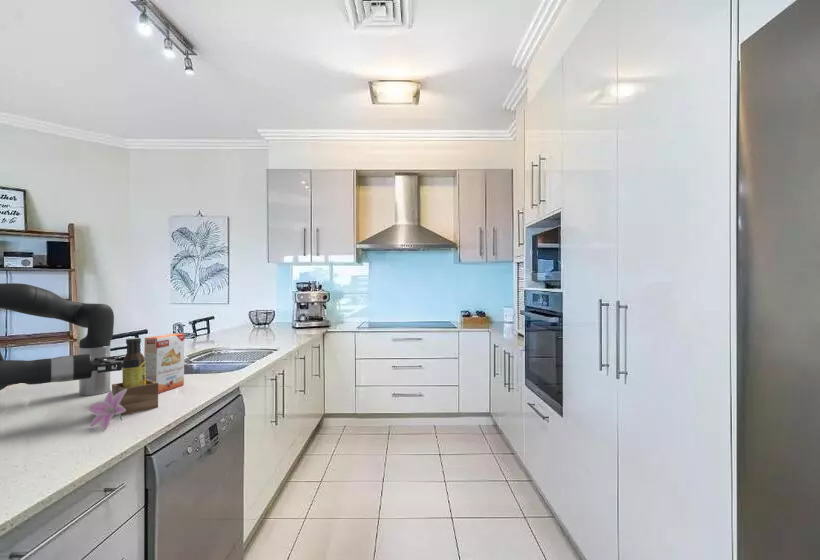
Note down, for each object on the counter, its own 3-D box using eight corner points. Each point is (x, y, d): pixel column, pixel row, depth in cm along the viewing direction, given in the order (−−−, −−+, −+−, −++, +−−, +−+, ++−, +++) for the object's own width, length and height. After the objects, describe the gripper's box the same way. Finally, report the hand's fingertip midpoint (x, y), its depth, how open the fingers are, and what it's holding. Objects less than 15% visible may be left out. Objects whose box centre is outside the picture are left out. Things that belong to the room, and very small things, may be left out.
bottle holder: (111, 408, 132) (112, 384, 132) (146, 401, 140) (146, 378, 140) (122, 415, 126) (122, 389, 126) (158, 407, 134) (158, 383, 134)
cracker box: (156, 394, 148) (157, 337, 148) (142, 394, 149) (143, 337, 150) (185, 385, 162) (185, 333, 162) (172, 384, 163) (172, 332, 163)
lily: (88, 425, 120) (74, 401, 115) (132, 402, 128) (120, 379, 123) (100, 447, 113) (85, 423, 108) (145, 421, 121) (133, 398, 116)
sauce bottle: (147, 398, 132) (147, 338, 133) (124, 403, 128) (124, 340, 128) (143, 395, 137) (142, 336, 137) (121, 399, 133) (120, 338, 133)
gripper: (72, 359, 117) (139, 352, 128) (70, 352, 127) (132, 346, 138) (72, 385, 117) (139, 376, 128) (70, 376, 127) (132, 368, 138)
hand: (135, 361), depth 133 cm, fingers open, 8 cm apart
